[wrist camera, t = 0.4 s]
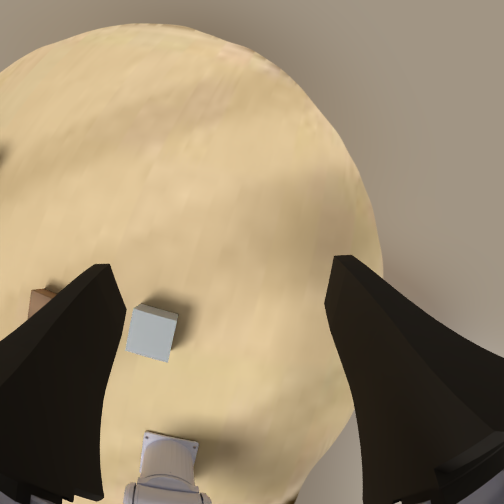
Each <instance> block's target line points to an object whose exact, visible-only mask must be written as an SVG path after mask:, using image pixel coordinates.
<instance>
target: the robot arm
mask: <svg viewBox="0 0 504 504" xmlns="http://www.w3.org/2000/svg"><path fill="white" fill-rule="evenodd" d="M324 305H325V309H326V314H327V319H328V323H329V327H330V331H331V334H332V337H333V340H334V343H335V345H336V348H337V351H338V354H339V357H340V360H341V362H342V365H343V368H344V371H345V374H346V377H347V380H348V383H349V386H350V390H351V393H352V397H353V402H354V407H355V412H356V418H357V424H358V431H359V438H360V446H361V456H362V471H363V504H394V503H397V502H399V501H401V502H402V504H504V358H503V357H500V356H498V355H496V354H494V353H492V352H490V351H488V350H486V349H484V348H482V347H480V346H478V345H476V344H474V343H473V342H471V341H469V340H467V339H466V338H464V337H462V336H460V335H459V334H457V333H456V332H454V331H452V330H451V329H449V328H448V327H446V326H445V325H443V324H442V323H440V322H439V321H437V320H435V319H434V318H433V317H431V316H430V315H428V314H427V313H426V312H424V311H423V310H422V309H420V308H419V307H418V306H416V305H415V304H414V303H412V302H411V301H410V300H408V299H407V298H406V297H404V296H403V295H402V294H401V293H399V292H398V291H397V290H396V289H394V288H393V287H392V286H391V285H390V284H388V283H387V282H386V281H385V280H383V279H382V278H381V277H380V276H378V275H377V274H376V273H375V272H374V271H372V270H371V269H370V268H369V267H367V266H366V265H365V264H363V263H362V262H361V261H359V260H358V259H357V258H355V257H354V256H352V255H340V256H334V259H333V264H332V269H331V274H330V279H329V284H328V289H327V293H326V298H325V302H324ZM126 310H127V309H126V307H125V304H124V302H123V299H122V297H121V294H120V291H119V289H118V286H117V283H116V280H115V278H114V275H113V272H112V269H111V266H110V264H94V265H93V266H91V267H90V268H88V269H87V270H86V271H84V272H83V273H82V274H80V275H79V276H78V277H77V278H76V279H74V280H73V281H72V282H71V283H70V284H68V285H67V286H66V287H65V288H64V289H63V290H61V291H60V292H59V293H58V294H57V295H56V296H55V297H53V298H52V299H51V300H50V301H49V302H48V303H47V304H45V305H44V306H43V307H42V308H41V309H40V310H38V311H37V312H36V313H35V314H34V315H33V316H31V317H30V318H29V319H28V320H27V321H26V322H25V323H23V324H22V325H21V326H20V327H18V328H17V329H16V330H15V331H13V332H12V333H11V334H9V335H8V336H7V337H5V338H4V339H3V340H1V341H0V504H62V499H65V500H67V501H69V502H73V500H74V495H77V496H80V497H83V498H86V499H90V500H93V501H100V500H102V499H103V498H104V493H103V486H102V478H101V469H100V427H101V416H102V407H103V400H104V395H105V390H106V386H107V383H108V379H109V376H110V372H111V369H112V365H113V362H114V359H115V355H116V352H117V349H118V346H119V342H120V339H121V336H122V331H123V326H124V321H125V315H126ZM146 436H148V438H147V437H146ZM194 446H196V447H194ZM198 446H199V443H198V442H196V441H190V440H185V439H179V438H174V437H170V436H165V435H161V434H156V433H152V432H148V431H146V432H145V433H144V438H143V446H142V455H141V464H140V473H141V475H140V477H138V481H137V485H136V483H135V482H130V484H128V485H126V488H125V492H124V500H123V504H212V502H211V499H210V498H209V497H208V496H207V494H206V493H200V494H199V488H198V486H195V479H194V469H193V467H194V462H195V458H196V454H197V450H198Z"/></svg>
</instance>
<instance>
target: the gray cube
mask: <svg viewBox="0 0 504 504" xmlns="http://www.w3.org/2000/svg"><path fill="white" fill-rule="evenodd" d="M177 319H178V314H176V313H172V312H169V311H165V310H161V309H158V308H154V307H151V306H148V305H144V304H139V305H138V306H136V307H135V308H134V309H133V313H132V318H131V323H130V328H129V333H128V338H127V344H126V351H129V352H132V353H135V354H139V355H142V356H145V357H149V358H152V359H156V360H160V361H163V362H167V363H168V359H169V355H170V350H171V345H172V341H173V336H174V332H175V328H176V323H177Z"/></svg>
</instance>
